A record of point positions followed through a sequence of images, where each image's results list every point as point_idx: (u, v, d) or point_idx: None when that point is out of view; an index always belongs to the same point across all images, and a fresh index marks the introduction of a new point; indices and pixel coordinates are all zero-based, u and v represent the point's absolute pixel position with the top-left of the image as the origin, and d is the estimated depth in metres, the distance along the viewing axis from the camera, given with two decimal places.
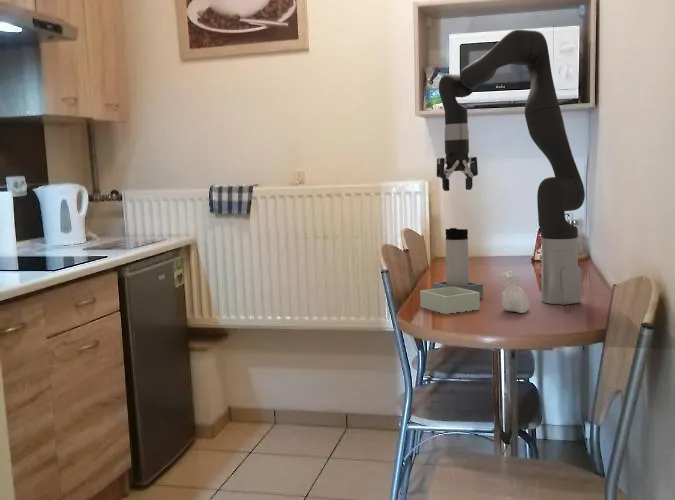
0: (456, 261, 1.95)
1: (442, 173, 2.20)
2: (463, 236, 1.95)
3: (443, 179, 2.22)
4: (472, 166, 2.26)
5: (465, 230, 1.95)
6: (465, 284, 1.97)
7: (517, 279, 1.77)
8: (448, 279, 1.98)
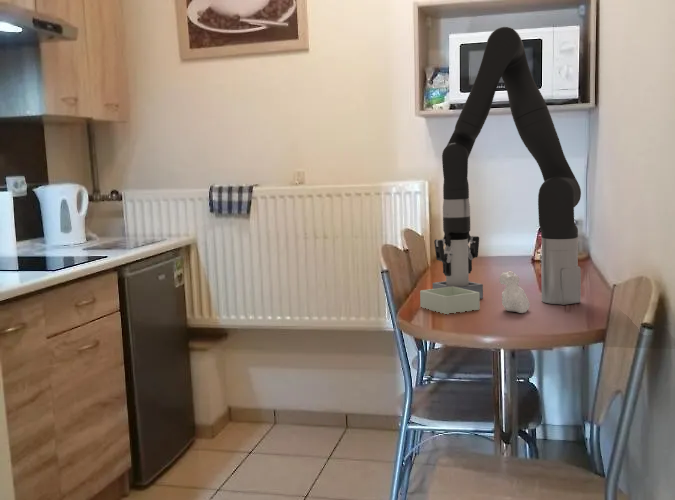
0: (456, 261, 1.95)
1: (442, 257, 1.95)
2: (463, 236, 1.95)
3: (444, 263, 1.96)
4: (473, 246, 2.00)
5: None
6: (465, 284, 1.97)
7: (517, 279, 1.77)
8: (448, 279, 1.98)
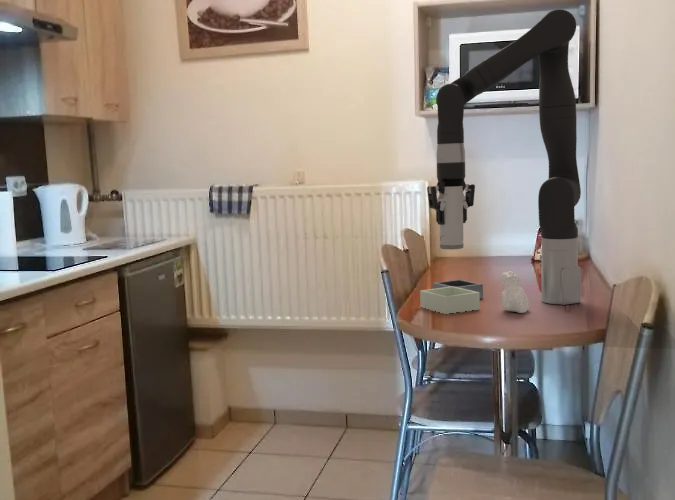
0: (450, 209, 1.86)
1: (435, 204, 1.85)
2: (457, 183, 1.86)
3: (437, 211, 1.87)
4: (468, 195, 1.91)
5: None
6: (459, 233, 1.88)
7: (517, 279, 1.77)
8: (441, 228, 1.89)
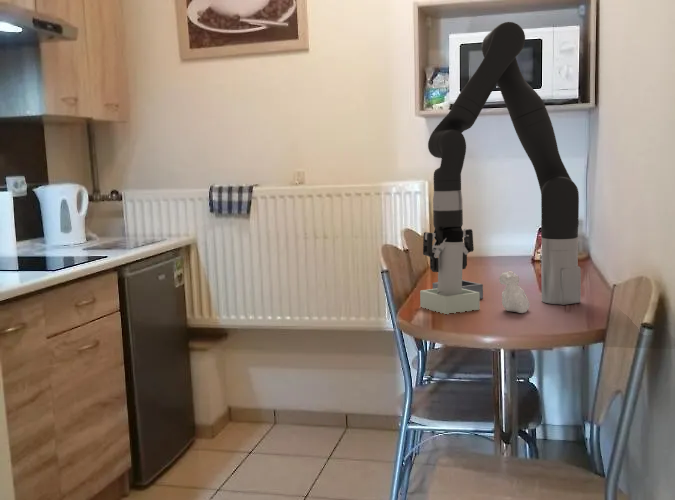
0: (449, 265, 1.81)
1: (430, 251, 1.79)
2: (458, 238, 1.80)
3: (431, 258, 1.81)
4: (467, 240, 1.85)
5: (460, 232, 1.80)
6: (458, 290, 1.82)
7: (517, 279, 1.77)
8: (440, 284, 1.83)
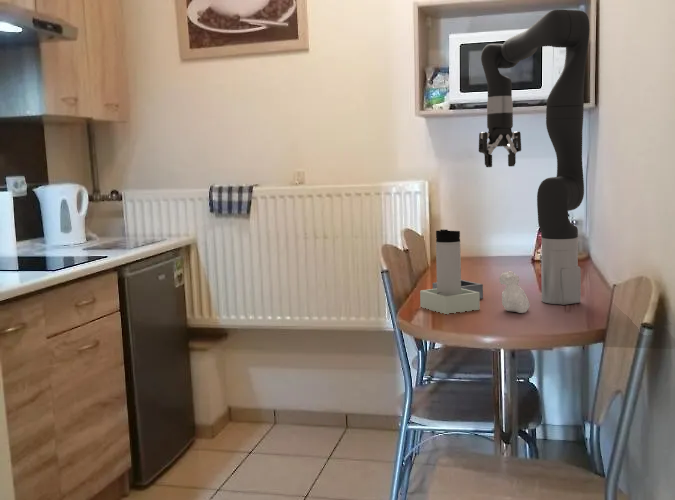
0: (447, 265, 1.81)
1: (485, 148, 2.09)
2: (455, 238, 1.81)
3: (486, 155, 2.10)
4: (515, 141, 2.15)
5: (457, 232, 1.81)
6: (457, 290, 1.82)
7: (517, 279, 1.77)
8: (439, 285, 1.83)
